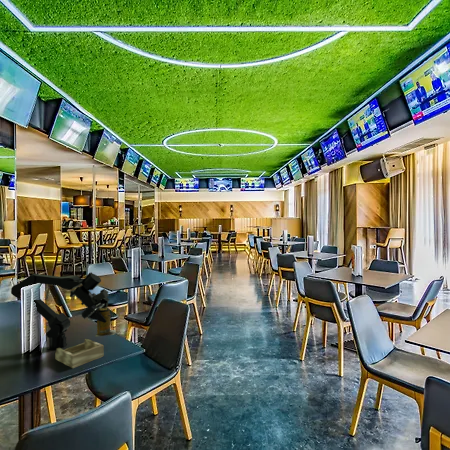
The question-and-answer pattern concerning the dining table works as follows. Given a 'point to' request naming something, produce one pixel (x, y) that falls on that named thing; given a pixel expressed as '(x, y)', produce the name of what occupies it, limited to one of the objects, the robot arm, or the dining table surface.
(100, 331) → the condiment
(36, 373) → the dining table surface
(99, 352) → the tan square tray
